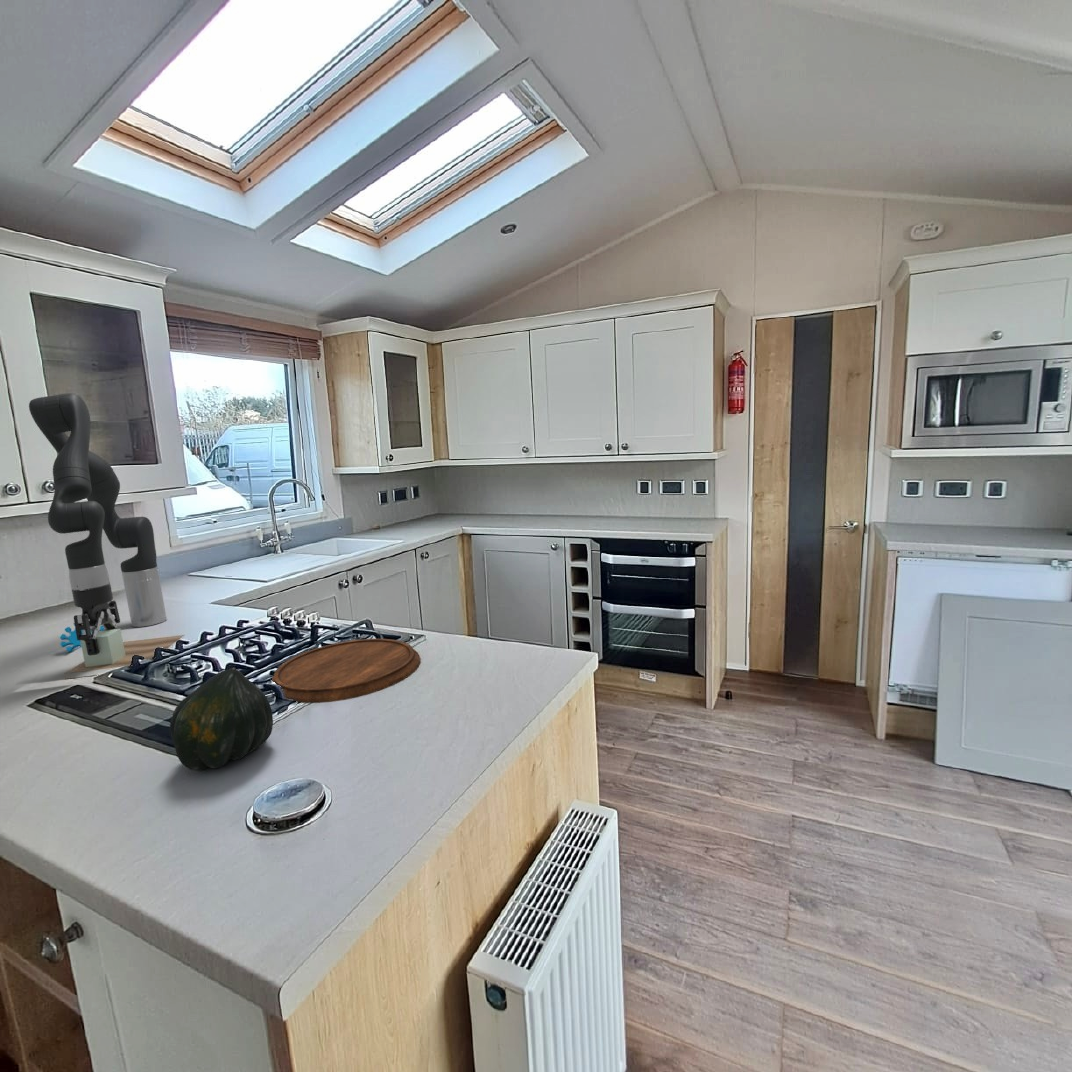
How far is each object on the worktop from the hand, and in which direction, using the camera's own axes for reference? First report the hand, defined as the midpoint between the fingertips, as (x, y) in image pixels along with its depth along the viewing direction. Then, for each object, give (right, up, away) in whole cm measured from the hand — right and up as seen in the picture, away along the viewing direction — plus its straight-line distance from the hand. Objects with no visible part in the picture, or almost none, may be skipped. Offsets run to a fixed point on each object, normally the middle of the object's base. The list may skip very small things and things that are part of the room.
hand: (103, 648), depth 144 cm
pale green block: (0, -3, 0) cm, 3 cm away
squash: (+55, -9, -47) cm, 73 cm away
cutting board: (+64, -3, -13) cm, 66 cm away
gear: (-17, -4, +17) cm, 24 cm away
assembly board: (+2, -4, +6) cm, 7 cm away
